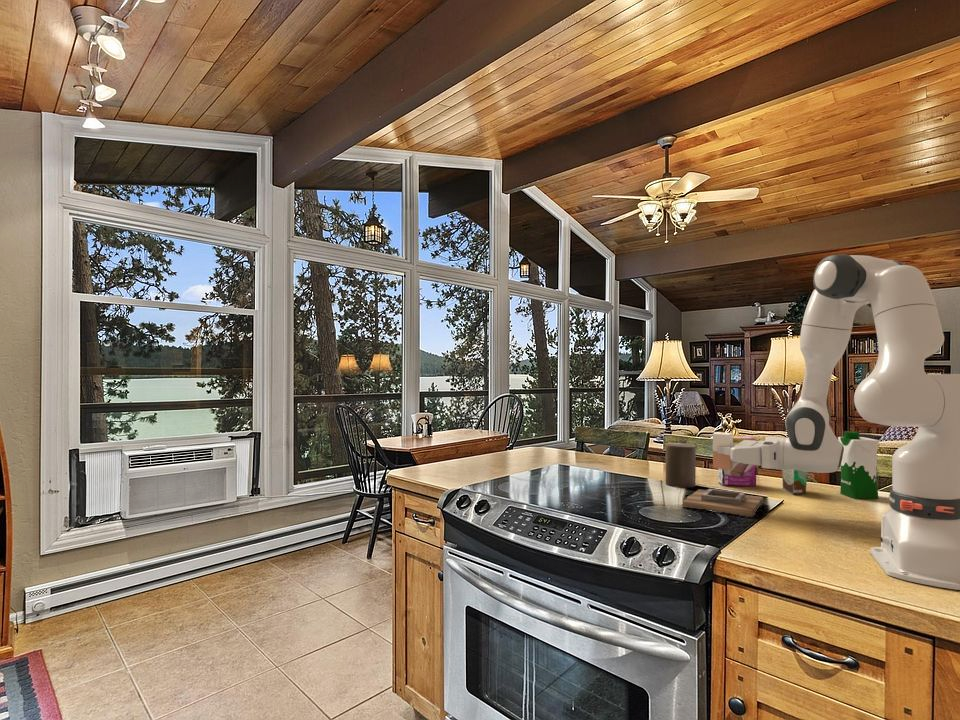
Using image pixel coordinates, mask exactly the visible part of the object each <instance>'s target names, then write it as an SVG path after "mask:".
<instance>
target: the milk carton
mask: <svg viewBox="0 0 960 720" xmlns="http://www.w3.org/2000/svg"><path fill="white" fill-rule="evenodd" d="M837 439H838V440H839V442H840V443H841V444H843V447H844V452H843V458H842V462H841V465H840V490H839V491H840V492H839V494H840V495H844V496H846V497H850V498H851V499H855V500H879V490H878V489H879V488H878V449H879V444H880V440H879V439H874V438H870V437H864V436H860V432H859V431H854V430H844V431H843V436H838V437H837Z"/></svg>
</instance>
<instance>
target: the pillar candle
mask: <svg viewBox="0 0 960 720" xmlns="http://www.w3.org/2000/svg"><path fill="white" fill-rule="evenodd" d="M696 450H697V449H696V445H695V444H692V443H684V442H683V443H682V442H681V441H679V442H668V443H665V484H666V485H667V484H668V485H667V486H670V485H671V487H674V486H678V487H677V488H695V487H696V483H697V482H696V477H697V476H696V472H697V471H696V468H697V467H696V465H697V464H696V463H697V462H696V458H697V457H696Z"/></svg>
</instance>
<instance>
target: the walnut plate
mask: <svg viewBox="0 0 960 720" xmlns="http://www.w3.org/2000/svg"><path fill="white" fill-rule="evenodd" d="M762 502H763V503H764V497H763V496H756V495H755V496H754V495H749V494H746V492H741V491H740V492H739V491H733V490H724V489H716V488H708V489H697V490H696V491H694V492H693V493H692V494H690V495H689V496H688V497H686V498H685V499H684V500H683V501H682V508H683V507H690V508H697V509H706V510H712V511H719V512H725V513H731V514H739V515H745V516H753V515H754V514H755V512H756V511H757V509H758V508H759V506H760V505H761V503H762ZM757 512H758V511H757ZM755 515H756V514H755ZM755 515H754V516H755Z"/></svg>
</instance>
